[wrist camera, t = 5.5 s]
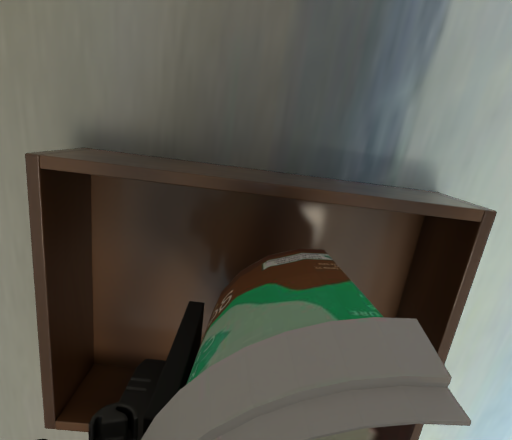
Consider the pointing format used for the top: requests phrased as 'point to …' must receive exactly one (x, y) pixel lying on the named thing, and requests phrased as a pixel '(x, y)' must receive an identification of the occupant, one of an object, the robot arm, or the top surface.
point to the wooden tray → (215, 257)
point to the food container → (307, 363)
